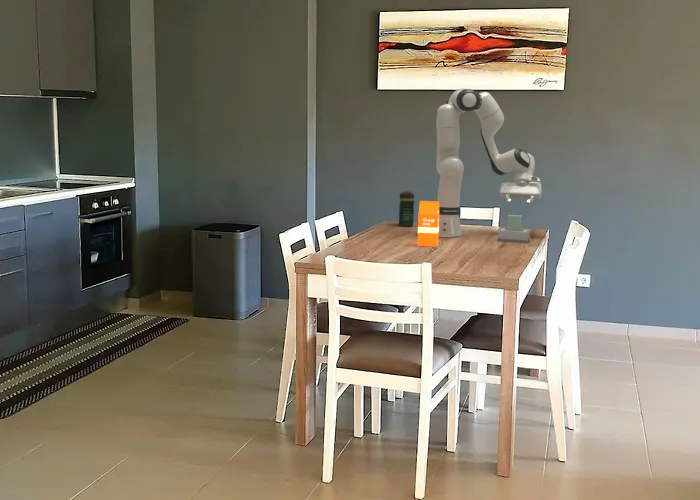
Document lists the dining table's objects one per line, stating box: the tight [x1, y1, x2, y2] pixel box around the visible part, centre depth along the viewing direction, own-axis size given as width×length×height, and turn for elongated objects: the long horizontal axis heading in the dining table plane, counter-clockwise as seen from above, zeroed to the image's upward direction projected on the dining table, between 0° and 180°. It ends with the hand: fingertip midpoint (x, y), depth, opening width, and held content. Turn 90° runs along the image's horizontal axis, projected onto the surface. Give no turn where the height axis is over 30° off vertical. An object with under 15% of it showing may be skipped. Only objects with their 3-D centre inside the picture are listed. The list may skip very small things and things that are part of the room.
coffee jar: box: [398, 190, 415, 228], centre depth 413 cm, size 10×8×19 cm
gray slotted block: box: [496, 227, 531, 244], centre depth 368 cm, size 14×10×5 cm
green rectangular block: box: [506, 214, 523, 231], centre depth 367 cm, size 4×6×11 cm, turn 69°
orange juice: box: [417, 200, 440, 247], centre depth 351 cm, size 8×9×20 cm
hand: (518, 203), depth 375 cm, fingers open, 8 cm apart
